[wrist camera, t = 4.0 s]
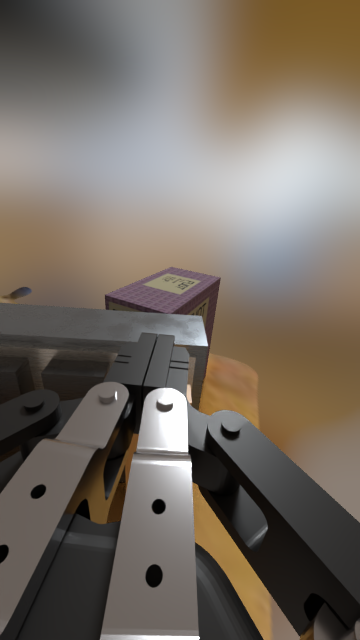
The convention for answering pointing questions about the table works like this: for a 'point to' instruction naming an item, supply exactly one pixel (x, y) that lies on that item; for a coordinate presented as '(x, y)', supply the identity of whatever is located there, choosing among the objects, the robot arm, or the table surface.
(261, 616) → the table surface
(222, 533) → the table surface
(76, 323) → the box
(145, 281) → the box
